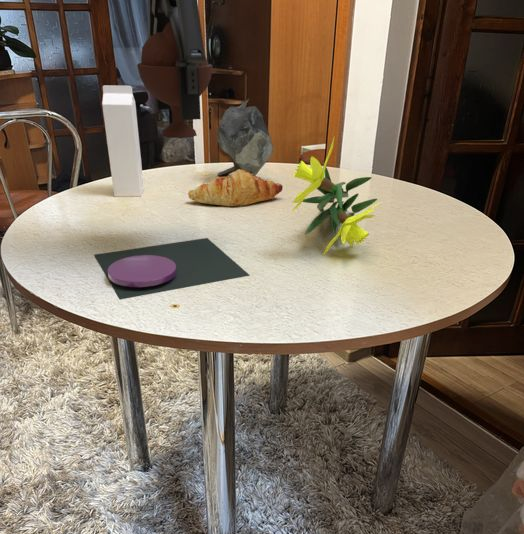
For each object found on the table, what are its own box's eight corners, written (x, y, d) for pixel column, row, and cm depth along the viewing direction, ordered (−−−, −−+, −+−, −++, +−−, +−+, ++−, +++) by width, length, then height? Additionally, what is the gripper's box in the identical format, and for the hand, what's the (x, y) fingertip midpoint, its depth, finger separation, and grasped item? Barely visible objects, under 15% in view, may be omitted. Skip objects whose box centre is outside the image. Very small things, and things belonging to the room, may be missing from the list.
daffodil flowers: (391, 220, 107) (401, 228, 74) (327, 252, 111) (310, 273, 78) (356, 144, 104) (351, 118, 71) (293, 180, 108) (260, 171, 76)
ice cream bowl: (210, 128, 84) (206, 20, 76) (217, 141, 75) (214, 19, 67) (144, 128, 83) (134, 18, 75) (143, 142, 73) (131, 17, 65)
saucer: (102, 270, 79) (101, 260, 78) (165, 260, 83) (164, 251, 82) (117, 296, 71) (116, 286, 70) (186, 284, 75) (185, 274, 74)
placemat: (94, 257, 84) (93, 254, 84) (207, 240, 92) (207, 237, 92) (120, 303, 71) (119, 299, 70) (250, 278, 78) (250, 275, 78)
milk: (141, 197, 115) (130, 87, 103) (113, 196, 114) (99, 86, 102) (144, 189, 120) (133, 84, 108) (117, 189, 119) (104, 83, 108)
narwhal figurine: (213, 188, 122) (210, 105, 112) (217, 173, 135) (215, 97, 125) (273, 189, 122) (275, 107, 112) (271, 174, 135) (273, 98, 125)
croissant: (192, 223, 110) (192, 194, 104) (183, 190, 115) (183, 161, 108) (285, 214, 115) (291, 187, 109) (273, 183, 120) (278, 155, 113)
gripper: (229, -85, 58) (231, 124, 70) (166, -61, 76) (176, 103, 87) (165, -92, 55) (179, 127, 67) (115, -65, 73) (133, 105, 85)
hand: (177, 113), depth 77 cm, fingers closed on ice cream bowl, 11 cm apart
